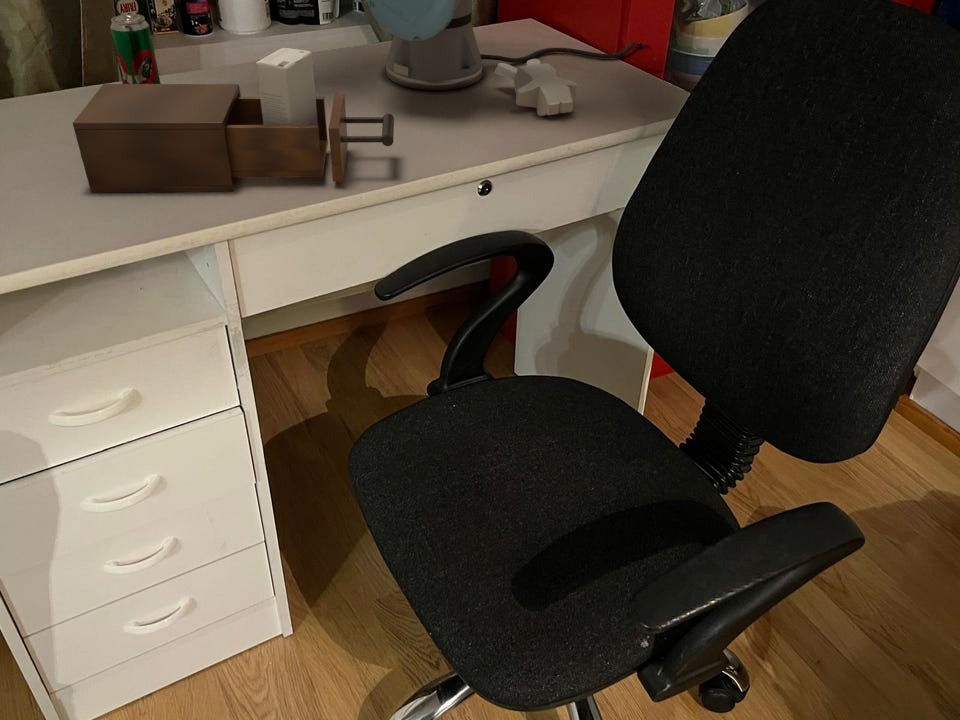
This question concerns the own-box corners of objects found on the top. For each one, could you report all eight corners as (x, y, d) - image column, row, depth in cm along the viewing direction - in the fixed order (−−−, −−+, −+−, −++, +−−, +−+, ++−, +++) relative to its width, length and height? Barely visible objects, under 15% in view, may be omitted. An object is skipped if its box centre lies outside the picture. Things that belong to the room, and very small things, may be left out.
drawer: (395, 143, 114) (393, 92, 110) (394, 181, 105) (392, 127, 100) (227, 144, 112) (219, 92, 108) (212, 182, 103) (202, 128, 99)
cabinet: (248, 148, 113) (239, 83, 108) (233, 191, 103) (222, 122, 98) (119, 149, 112) (103, 83, 107) (91, 192, 102) (72, 122, 97)
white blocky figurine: (533, 96, 120) (489, 51, 129) (529, 130, 123) (486, 83, 133) (592, 88, 123) (545, 45, 133) (586, 121, 126) (541, 76, 136)
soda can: (169, 99, 126) (153, 14, 119) (156, 112, 122) (138, 24, 115) (136, 97, 127) (117, 12, 119) (121, 109, 123) (101, 22, 115)
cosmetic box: (291, 141, 111) (280, 45, 103) (322, 147, 109) (313, 50, 102) (265, 159, 106) (252, 60, 99) (297, 166, 105) (286, 66, 97)
